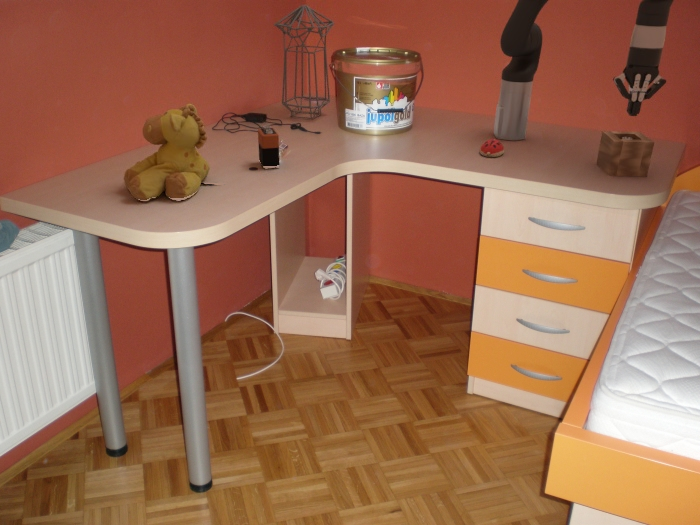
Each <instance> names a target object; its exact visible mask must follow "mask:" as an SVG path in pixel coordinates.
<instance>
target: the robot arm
mask: <svg viewBox="0 0 700 525" xmlns="http://www.w3.org/2000/svg"><path fill="white" fill-rule="evenodd" d="M674 1H675V0H641V1H640V3H639V5H638V8H637V9H638V10H637V14H636V19H635V24H634V27H633V31H632V34H631V38H630V43H629V49H628V53H627V59H626V65H625V67H624V69H623V71H622V73H621V74H619V75H618V76H614V77H613V79H612V81H613V82H614V84H615V86H616V88H617V90H618V91H619V93H620V95H621V96H622V97H623V98H625V99H626V100H628V101H627V108H626V113H627V114H628V116H629V117H638V115H639V114H640V112H641V108H642V104H643V102H644V100H650V99H651V98H652V97H653V96H654V95H655V94H657V92H659V90H660V89H662V87H663V86H665V84H667V80H666V79H665V78H663V77H662V76H661V75H660V69H659V68H660V64H661V59H662V54H663V49H664V45H665V43H666V41H665V39H666V35H667V25H668V20H669V17H670V10H671V7H672V4H673V3H674ZM548 2H549V0H518V1H517V3H516V5H515V6H514V9H513V11H512V13H511V15H510V16H509V18H508V20H507V22H506V23H505V26H504V28H503V30H502V33H501V35H500V41H499V42H500V43H499V44H500V49H501V51H502V53H503V55H505V56H507V57H510V58H511V60H510V62H509V63H508V64H507V65H506V66H505V67H504V68H503V69H502V71H501V78H500V89H499V96H498V102H497V103H496V110H495V115H494V126H493V135H494V137H495V139H496V140H498V139H499V140H504V141H505V140H507V141H521V140H524V139H526V135H527V134H526V133H527V128H528V120H529V112H530V106H531V100H532V99H531V98H532V92H533V86H534V84H533V82H534V77H535V74H536V73H537V70H538V68H539V63H540V58H541V52H542V48H543V31H542V29H541V27H540V26H539V24H537V23H536V19H537V18H538V16H539V14H540V12H541V11H542V10H543V8H544V6H545V5H546V4H547V3H548ZM625 82H627V84H628V90H627V87H626V86H625V84H624V83H625ZM652 83H653V84H652Z"/></svg>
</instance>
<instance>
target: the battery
mask: <svg viewBox="0 0 700 525" xmlns="http://www.w3.org/2000/svg"><path fill="white" fill-rule="evenodd" d="M279 136H280V135H279V134H278V132H277V131H276V130H275V128H274V127H272V126H271V125H269V124H268V125H263V126H262V128H258V129H257V139H258V160H260V162H261V164H262V165H263V166H277V165H280V137H279ZM260 162H259V163H260ZM261 164H260V165H261ZM262 165H261V166H262Z"/></svg>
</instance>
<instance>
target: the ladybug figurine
mask: <svg viewBox="0 0 700 525" xmlns="http://www.w3.org/2000/svg"><path fill="white" fill-rule="evenodd" d="M479 153H480V154H481V156H484V157H485V158H497V157H501V156H502V155H503V154H504V153H505V148H504V145H503V143H502V142H501V141H499V140H498V139H496V138H495V139H494V138H492V139H488V140H486V141H484V142H483V144H481V145H480V148H479Z"/></svg>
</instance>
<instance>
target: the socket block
mask: <svg viewBox="0 0 700 525" xmlns="http://www.w3.org/2000/svg"><path fill="white" fill-rule="evenodd" d="M622 137H624V138H625V137H627V139H622ZM628 137H630V139H628ZM631 138H632V139H631ZM599 142H600V143H599V147H598V152H597V157H596V158H597V159H596V162H595V164H596V163H597V164H596V165H597V166H598V167H599V168H600V169H601V170H602V172H603V173H605V174H606V175H607V176H619V177H621V176H622V177H647V176H648V173H649V172H648V171H649V168H650V163H651V159H652V154H653V150H654V146H655V141H653V140H652V139H650V138H649V137H648V136H646V135H645V134H644V133H643V132H641V131H617V130H615V131H614V130H613V131H612V130H602V132H601V136H600V141H599Z"/></svg>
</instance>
